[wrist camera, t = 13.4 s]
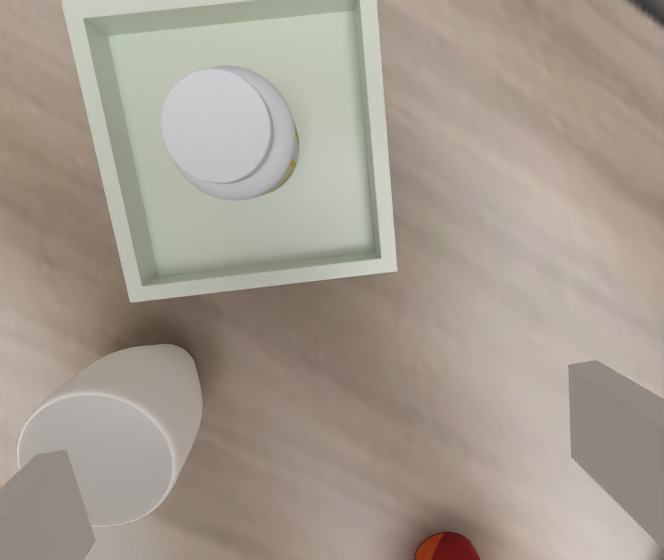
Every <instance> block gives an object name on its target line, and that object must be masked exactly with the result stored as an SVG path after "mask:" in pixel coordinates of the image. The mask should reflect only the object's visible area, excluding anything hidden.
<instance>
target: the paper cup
mask: <svg viewBox="0 0 664 560" xmlns="http://www.w3.org/2000/svg"><path fill="white" fill-rule="evenodd" d="M415 560H480V558H479V556H478V554H477V552H476V551H475V549H474V547H473V546H472V544H471V543H470V542H469V540H468V539H466V538H465V537H463V536H462V535H459V534H456V533H450V532H446V533H439V534H436V535H433V536H431V537H429V538H428V539H426V540H425V541H424V542H423V543H422V544H421V545H420V547H419V548H418V550H417V552H416V556H415Z"/></svg>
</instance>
